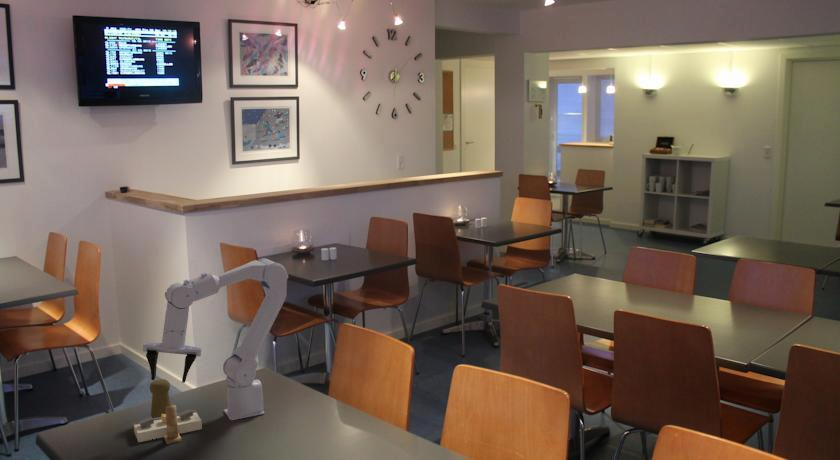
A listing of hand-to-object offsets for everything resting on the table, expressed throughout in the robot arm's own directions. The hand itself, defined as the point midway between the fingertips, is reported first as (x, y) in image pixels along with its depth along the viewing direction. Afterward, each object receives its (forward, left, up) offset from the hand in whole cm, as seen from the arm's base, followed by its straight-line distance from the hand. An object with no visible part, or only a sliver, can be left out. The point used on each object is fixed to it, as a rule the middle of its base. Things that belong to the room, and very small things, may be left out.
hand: (168, 380), depth 193 cm
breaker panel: (+1, 0, -14) cm, 14 cm away
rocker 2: (+1, 0, -11) cm, 11 cm away
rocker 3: (-4, 0, -11) cm, 12 cm away
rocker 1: (+6, 0, -11) cm, 13 cm away
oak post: (+1, +6, -14) cm, 15 cm away
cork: (+1, -9, -14) cm, 17 cm away
